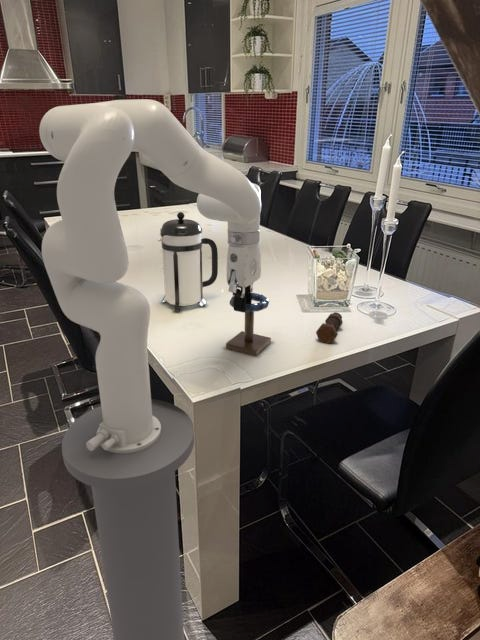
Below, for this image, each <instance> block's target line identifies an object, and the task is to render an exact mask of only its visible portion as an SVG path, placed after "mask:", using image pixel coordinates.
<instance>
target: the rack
mask: <svg viewBox="0 0 480 640" xmlns="http://www.w3.org/2000/svg"><path fill="white" fill-rule="evenodd" d="M254 327H255V312H244V331H243V330H241V331H240V332H238V333H237V334H236V335H235V336H233V337H232V338H231V339H229V340H228V341H226V343H225V348H226V349H228V350H232V351H235V352H240V353H243V354H248V355H251V356H255V357H257V356H258V355H259V354H260V353H262V351H263V350H264V349H265V348H266V347H268V346H269V345H270V344H271V343H272V338H271V337H269V336H265V335H262V334H256V333H254V330H255V329H254Z"/></svg>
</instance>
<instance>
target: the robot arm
mask: <svg viewBox="0 0 480 640" xmlns="http://www.w3.org/2000/svg"><path fill="white" fill-rule="evenodd" d="M39 138H40V141H41V144H42V145H43V148H44V149H45V150H46V152H47V153H48V154H49V155H50V156H52V157H54V158H55V159H57V160H59V161H61V162H64V163H63V165H62V168H61V171H60V173H59V176H58V180H57V183H56V184H57V185H56V200H57V206H58V209H59V213H60V216H61V220H58V221H56V222H53V224H51V225H50V226H49V227H48V228H47V230H46V231H45V233H44V235H43V237H42V241H41V258H42V262H43V264H44V265H43V266H44V267H45V271H46V273H47V277H48V278H49V281H50V285H51V287H52V290H53V292H54V295H55V297H56V300H57V303H58V305H59V307H60V309H61V311H62V313H63V314H64V316H66V318H67V319H69V320H70V321H71V322H73V323H75V324H78V325H80V326H82V327H84V328H88V329H90V330H92V331H95V332H96V333H98V334H99V336H100V338H99V339H100V340H99V343H98V345H97V348H96V350H95V358H94V359H95V370H96V375H97V383H98V391H99V399H100V406H101V408H102V416H103V422H102V423H100V424H99V426H100V427H99V428H98V430H97V436H95V437H93V438H92V439H90V440H89V441H88V442H86V446H87V448H88V449H89V450H90V451H93V450H94V449H95V448H97V447H98V446H99V445H100V446H101V447H102V448H103V449H104V450H107V451H109V452H113V453H120V454H126V453H133V452H138V451H141V450H143V449H146V448H148V447H149V446H151V445H152V444H154V443H155V442H156V441H157V440H158V438H159V437H160V434H161V424H160V422H159V420H158V419H157V418H156V417H154V416H153V415H152V404H151V399H152V392H151V380H150V379H151V378H150V367H149V354H148V353H149V352H148V336H149V335H148V334H149V326H150V320H151V307H150V303H149V300H148V298H147V297H146V296H145V295H144V294H143V292H142V291H140V290H139V289H137V288H135V287H133V286H131V285H128V284H125V283H121V282H118V281H120V280H121V279H123V277H124V276H125V275H126V274H127V272H128V268H129V253H128V249H127V245H126V240H125V237H124V234H123V229H122V225H121V222H120V219H119V213H118V210H117V203H116V199H115V187H116V183H117V179H118V176H119V174H120V172H121V170H122V168H123V166H124V165H125V163H126V162H127V160H128V159H129V157H130V155H131V153H132V152H134V153H135V152H137V153H139V154H141V155H142V156H144V157H145V158H146V159H147V160H148V161H149V162H150V163H152V164H153V165H154V166H155V167H156V168H157V169H158V170H159V171H161V173H162V174H163V175H165V176H166V178H167V179H169V180H170V181H171V182H172V183H173V184H174V185H176V186H178V187H180V188H183V189H185V190H188V191H190V192H193V193H197V194H198V195H197V198H196V207H197V210H198V212H199V213H200V215H201V216H202V217H204V218H205V219H209V220H211V221H212V220H213V221H218V222H225V223H226V222H227V245H228V248H227V257H226V283H227V285H228V293H231V294H232V296H234V308H233V311H235V312H240V313H243V314H245V312H246V304H253V302H252V301H253V300H252V293H253V290H254V289H253V287H254V286H253V285H254V284H255V283H256V282H257V281H258V280H259V279H260V278H261V276H262V268H261V267H262V261H261V260H262V259H261V258H262V257H261V246H260V229H261V228H260V225H261V224H260V223H261V211H262V199H261V187H260V186H259V185H258V184H257V183H253V182H251V181H250V180H249V178H248V177H247V176H246V175H245V174H244V173H242V171H240V170H239V169H237V168H235V167H234V166H233V165H231V164H229V163H228V162H225V161H224V160H223V159H221V158H219V157H218V156H216V155H214V154H212V153H210V152H208V151H207V150H205V149H204V147H203V148H202V146H201V145H200V144H199V143H198V141H196V139H195V138H194V137H193V136H192V134H190V133H189V131H188V130H187V129H186V128H185V127H184V126H183V124H182V123H181V122H180V120H178V118H176V116H175V115H174V114H173V113H172V112H171V110H170V109H169V108H168V107H167V106H166V105H164V104H163V103H162V102H160V101H157V100H155V99H148V98H147V99H144V98H141V99H139V98H138V99H114V100H108V101H100V102H93V103H90V102H89V103H81V104H79V103H78V104H71V105H70V104H69V105H59V106H55V107H53V108H50V109H49V110H48V111H47V112H46V113H45V114H44V115H43V116H42V118H41V120H40V123H39Z"/></svg>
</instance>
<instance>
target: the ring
mask: <svg viewBox="0 0 480 640" xmlns="http://www.w3.org/2000/svg"><path fill="white" fill-rule="evenodd" d="M252 301H254V302H257V303H252V304H246V312H254V313H256V312H260V311H263V310H265V309H267V308H268V307H269V305H270V299H269V298H268V297H267V296H265V295H263V294H261V293H256V292H252ZM228 303H229V306H231V308H233V309H234V296H233V295H232V296H231V298H230V300H229V302H228Z"/></svg>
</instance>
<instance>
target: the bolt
mask: <svg viewBox="0 0 480 640" xmlns="http://www.w3.org/2000/svg"><path fill="white" fill-rule="evenodd" d="M342 318H343V316H342V314H340V313H339V312H336V311H335V312H332V313H330V314H329V315H328V316H327V318H326V319H325V320H324V322H322V324H321V325H320V326H319V327H318V329H317V330H316V332H315V334H316V337H317V339H318V340H319V342H321V343H324V344H332V343H333V342H334V340H335V339H336V338H337V337H338V335H339V334H338V332H337V331H338V329H339V328H340V327H341V326H342V325H343V323H344V321H343V319H342Z"/></svg>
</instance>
